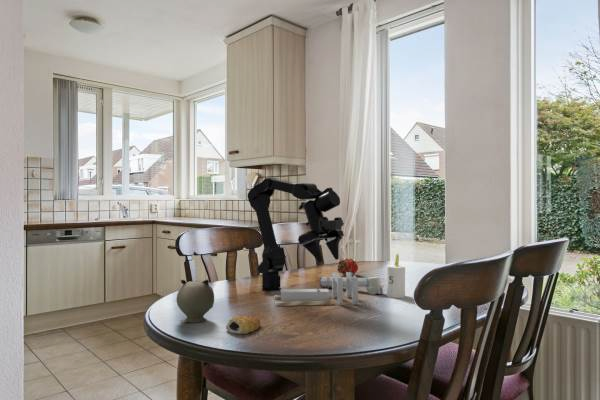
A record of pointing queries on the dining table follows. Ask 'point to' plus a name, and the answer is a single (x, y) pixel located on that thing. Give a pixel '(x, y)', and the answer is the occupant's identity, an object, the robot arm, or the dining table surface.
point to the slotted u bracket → (350, 287)
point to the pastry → (243, 324)
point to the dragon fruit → (347, 266)
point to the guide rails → (301, 302)
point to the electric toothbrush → (370, 283)
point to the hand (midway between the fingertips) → (329, 260)
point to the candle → (396, 280)
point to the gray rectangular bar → (304, 295)
